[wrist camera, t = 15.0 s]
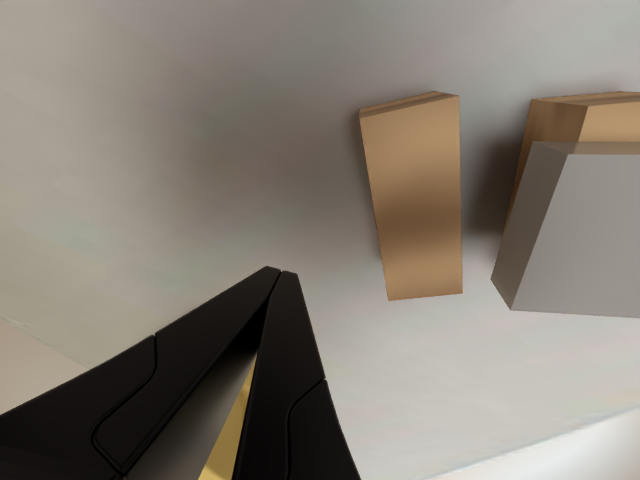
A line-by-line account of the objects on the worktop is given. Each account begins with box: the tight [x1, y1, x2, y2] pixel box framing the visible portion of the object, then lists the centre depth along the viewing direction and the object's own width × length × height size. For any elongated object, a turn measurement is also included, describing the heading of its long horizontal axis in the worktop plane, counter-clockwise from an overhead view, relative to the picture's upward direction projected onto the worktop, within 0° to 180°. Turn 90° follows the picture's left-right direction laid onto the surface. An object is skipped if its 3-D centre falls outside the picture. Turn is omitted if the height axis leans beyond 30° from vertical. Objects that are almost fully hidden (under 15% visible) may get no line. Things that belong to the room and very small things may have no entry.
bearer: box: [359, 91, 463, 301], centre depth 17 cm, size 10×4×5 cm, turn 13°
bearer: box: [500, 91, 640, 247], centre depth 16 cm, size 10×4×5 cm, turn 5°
